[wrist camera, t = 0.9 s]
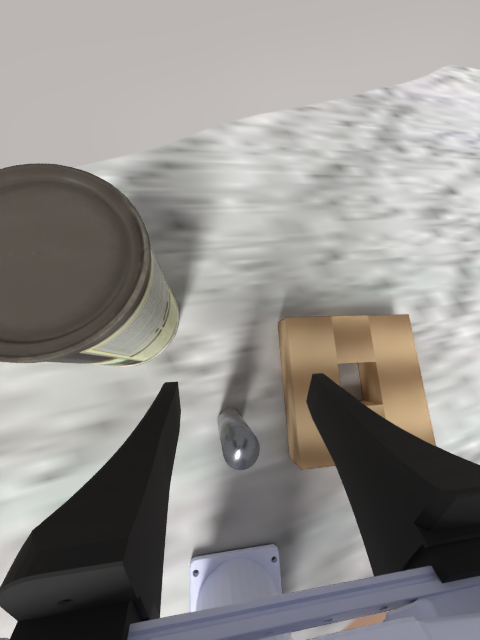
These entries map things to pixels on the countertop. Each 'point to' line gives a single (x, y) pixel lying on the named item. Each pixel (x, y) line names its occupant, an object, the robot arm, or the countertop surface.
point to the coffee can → (77, 272)
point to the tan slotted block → (374, 367)
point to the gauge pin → (237, 440)
